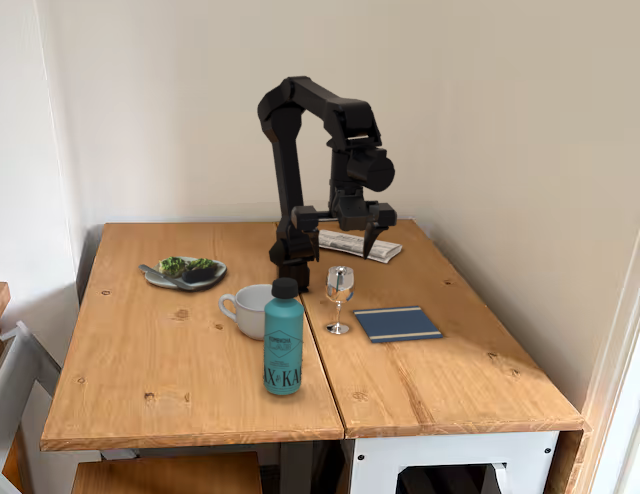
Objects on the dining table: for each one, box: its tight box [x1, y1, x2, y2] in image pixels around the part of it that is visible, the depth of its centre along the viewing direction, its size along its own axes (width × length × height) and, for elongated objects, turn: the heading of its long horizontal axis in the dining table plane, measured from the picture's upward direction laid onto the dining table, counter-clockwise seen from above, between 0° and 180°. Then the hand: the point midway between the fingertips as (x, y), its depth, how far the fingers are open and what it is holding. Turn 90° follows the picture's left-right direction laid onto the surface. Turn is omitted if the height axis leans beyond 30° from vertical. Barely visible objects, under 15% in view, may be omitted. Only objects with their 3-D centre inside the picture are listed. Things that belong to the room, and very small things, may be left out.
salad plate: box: [137, 255, 228, 293], centre depth 159 cm, size 19×18×5 cm
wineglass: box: [324, 265, 356, 335], centre depth 136 cm, size 6×6×12 cm
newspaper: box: [319, 229, 403, 264], centre depth 177 cm, size 23×12×2 cm, turn 58°
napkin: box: [352, 305, 444, 344], centre depth 141 cm, size 14×14×1 cm
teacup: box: [217, 283, 275, 341], centre depth 136 cm, size 14×11×8 cm
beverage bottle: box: [262, 278, 305, 396], centre depth 113 cm, size 6×7×20 cm
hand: (341, 260), depth 135 cm, fingers open, 9 cm apart
